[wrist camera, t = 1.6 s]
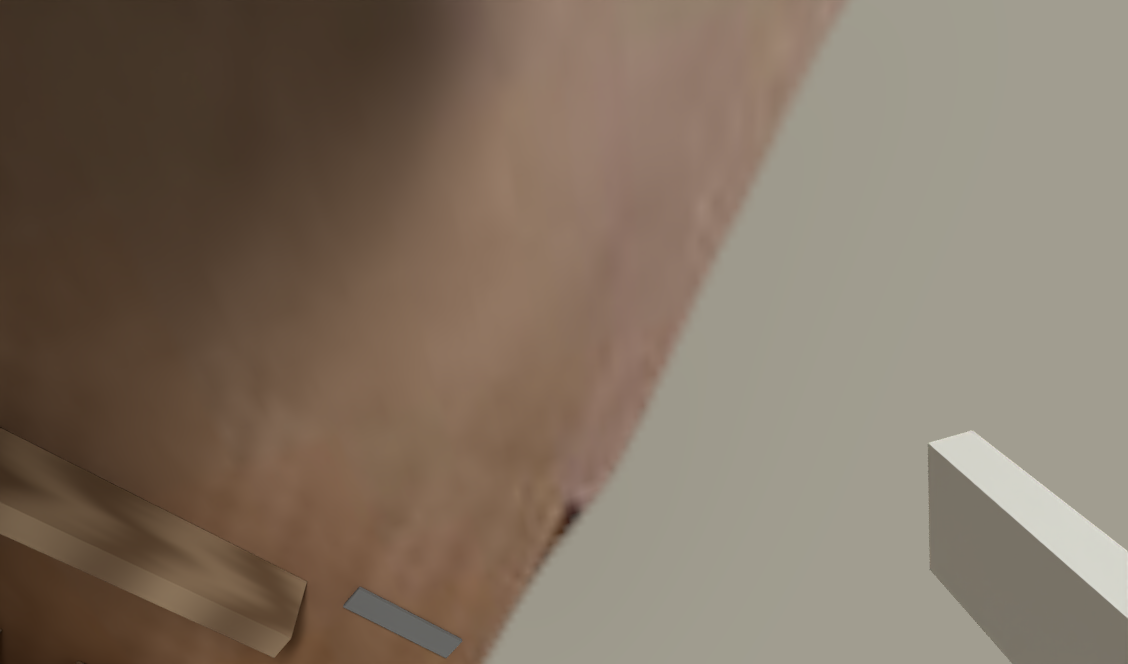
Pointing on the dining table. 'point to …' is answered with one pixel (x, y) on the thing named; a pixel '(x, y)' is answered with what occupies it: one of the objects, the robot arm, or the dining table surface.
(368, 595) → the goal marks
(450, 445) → the dining table surface
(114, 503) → the wooden bar frame
